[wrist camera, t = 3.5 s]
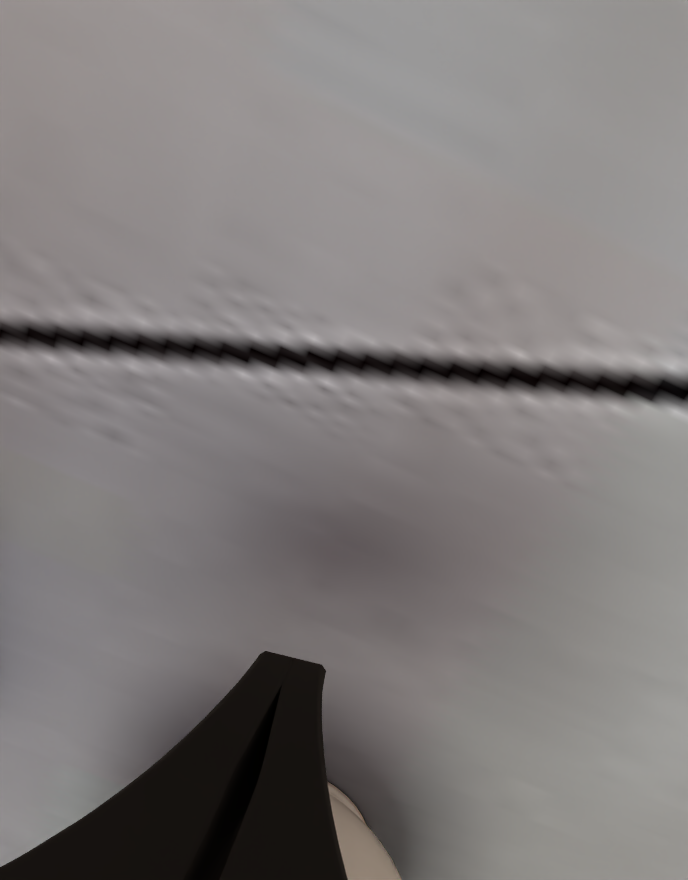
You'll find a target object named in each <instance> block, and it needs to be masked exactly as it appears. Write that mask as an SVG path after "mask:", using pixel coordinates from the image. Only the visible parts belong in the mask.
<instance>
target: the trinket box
mask: <svg viewBox="0 0 688 880" xmlns="http://www.w3.org/2000/svg"><path fill="white" fill-rule="evenodd" d="M328 789H329V796H330V802H331V808H332V813H333V818H334V823H335V828H336V833H337V837H338V842H339V847H340V851H341V855H342V859H343V863H344V867H345V871H346V875H347V879H348V880H402V879H401V876H400V874H399V872H398V870H397V869H396V867H395V865H394V863H393V861H392V859H391V857H390V856H389V854H388V853H387V851H386V850H385V848H384V847H383V845H382V844H381V842H380V841H379V840H378V838H377V837H376V836H375V835H374V833H373V832H372V831H371V830H370V829H369V827H368V826H367V825H366V823H365V821H364V819H363V817H362V815H361V813H360V812H359V810H358V809H357V807H356V806H355V805H354V804H353V803H352V802H351V800H350V799H349V798H348V797H347V796H346V795H345V794H344V793H342V792H341V791H340V790H339V789H337V788H336V787H335V786H333V785H332V784H330V783H329V782H328Z"/></svg>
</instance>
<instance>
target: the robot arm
mask: <svg viewBox="0 0 688 880" xmlns="http://www.w3.org/2000/svg"><path fill="white" fill-rule="evenodd" d="M325 673H326V670H325V669H324V667H323V666H322V665H320V664H316V663H312V662H308V661H304V660H300V659H296V658H292V657H288V656H284V655H280V654H276V653H271V652H267V651H265V652H263V653H261V654H260V655H259V656H258V658H257V659H256V660H255V662H254V663H253V664H252V666H251V667H250V668H249V669H248V671H247V672H246V673H245V674H244V676H243V677H242V678H241V679H240V680H239V682H238V683H237V684H236V685H235V686H234V687H233V688H232V690H231V691H230V692H229V693H228V694H227V695H226V696H225V697H224V698H223V699H222V700H221V701H220V703H219V704H218V705H217V706H216V707H215V708H214V709H213V710H212V711H211V712H210V713H209V714H208V715H207V716H206V717H205V718H204V719H203V720H202V721H201V722H200V723H199V724H198V725H197V726H196V727H195V728H194V729H193V730H192V731H191V732H190V733H189V734H187V735H186V736H185V737H184V738H183V739H182V740H181V741H180V742H179V743H178V744H177V745H176V746H175V747H174V748H172V749H171V750H170V751H169V752H168V753H167V754H166V755H165V756H163V757H162V758H161V759H160V760H159V761H158V762H156V763H155V764H154V765H153V766H152V767H150V768H149V769H148V770H147V771H145V772H144V773H143V774H142V775H140V776H139V777H138V778H137V779H135V780H134V781H133V782H132V783H130V784H129V785H128V786H126V787H125V788H124V789H122V790H121V791H120V792H118V793H117V794H115V795H114V796H113V797H111V798H110V799H109V800H107V801H106V802H104V803H103V804H102V805H100V806H99V807H98V808H96V809H95V810H93V811H92V812H90V813H89V814H87V815H86V816H85V817H83V818H82V819H80V820H79V821H77V822H76V823H74V824H72V825H71V826H69V827H67V828H66V829H64V830H63V831H61V832H59V833H58V834H56V835H55V836H53V837H51V838H50V839H48V840H46V841H45V842H43V843H42V844H40V845H38V846H37V847H35V848H34V849H32V850H30V851H29V852H27V853H25V854H23V855H22V856H20V857H18V858H17V859H15V860H13V861H11V862H9V863H7V864H6V865H4V866H2V867H0V880H348V879H347V875H346V871H345V867H344V863H343V859H342V855H341V851H340V847H339V842H338V837H337V833H336V828H335V823H334V818H333V813H332V808H331V802H330V796H329V789H328V782H327V776H326V768H325V759H324V747H323V735H322V690H323V684H324V678H325Z"/></svg>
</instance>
